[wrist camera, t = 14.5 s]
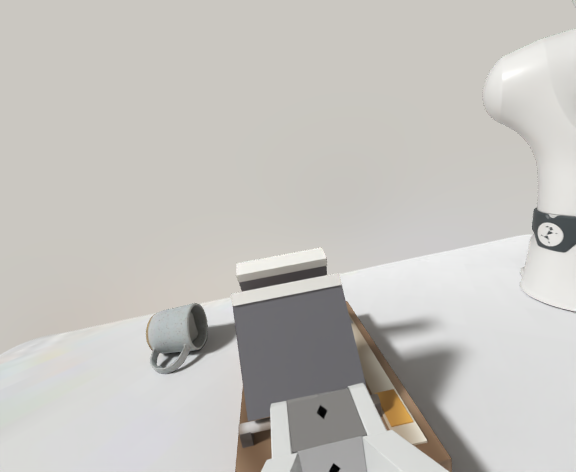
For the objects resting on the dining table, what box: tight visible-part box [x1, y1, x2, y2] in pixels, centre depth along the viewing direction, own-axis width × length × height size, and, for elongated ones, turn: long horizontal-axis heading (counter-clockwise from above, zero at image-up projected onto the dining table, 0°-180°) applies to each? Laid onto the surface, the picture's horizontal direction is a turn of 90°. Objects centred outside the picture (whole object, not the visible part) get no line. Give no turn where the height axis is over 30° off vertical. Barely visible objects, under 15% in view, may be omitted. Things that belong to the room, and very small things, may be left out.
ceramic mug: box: [146, 303, 208, 374], centre depth 45 cm, size 11×8×8 cm
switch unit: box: [235, 301, 452, 472], centre depth 33 cm, size 17×26×6 cm, turn 6°
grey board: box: [231, 273, 367, 421], centre depth 26 cm, size 11×2×11 cm, turn 96°
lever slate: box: [236, 247, 327, 292], centre depth 36 cm, size 11×2×11 cm, turn 96°
